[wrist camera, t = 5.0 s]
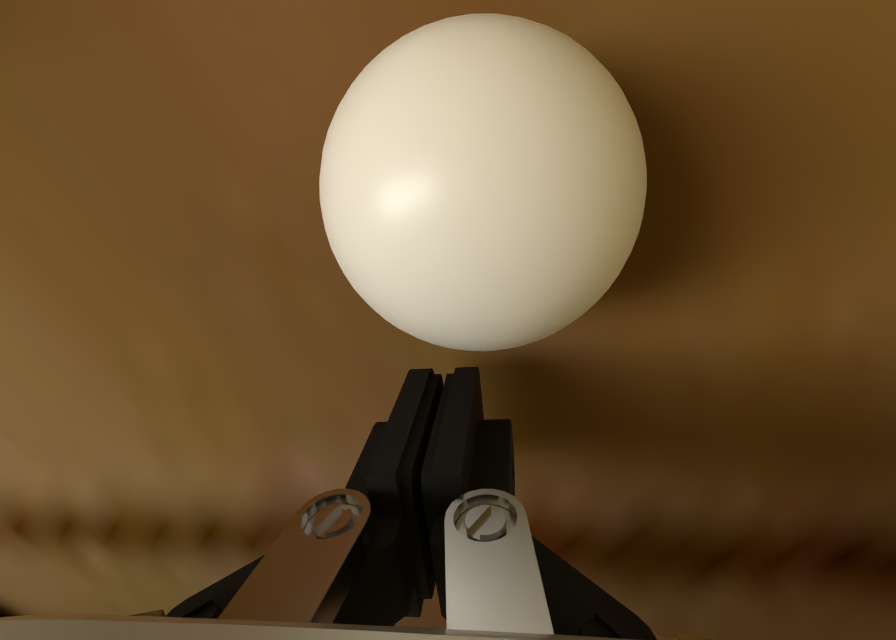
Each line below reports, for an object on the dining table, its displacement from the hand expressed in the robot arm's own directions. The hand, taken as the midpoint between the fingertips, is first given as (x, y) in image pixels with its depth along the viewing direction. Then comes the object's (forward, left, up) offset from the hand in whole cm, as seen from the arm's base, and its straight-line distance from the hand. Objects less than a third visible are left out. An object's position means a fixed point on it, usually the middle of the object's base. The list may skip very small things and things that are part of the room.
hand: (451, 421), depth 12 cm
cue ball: (+3, +5, +1) cm, 6 cm away
